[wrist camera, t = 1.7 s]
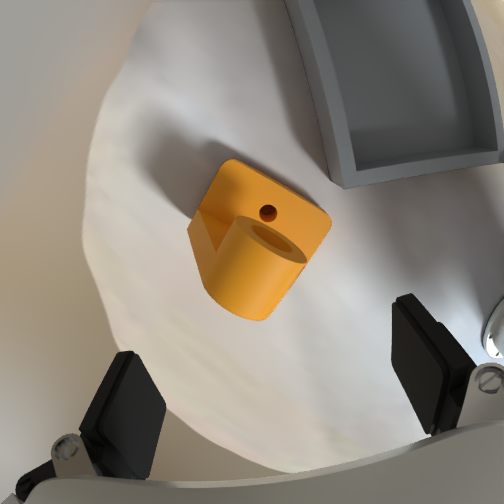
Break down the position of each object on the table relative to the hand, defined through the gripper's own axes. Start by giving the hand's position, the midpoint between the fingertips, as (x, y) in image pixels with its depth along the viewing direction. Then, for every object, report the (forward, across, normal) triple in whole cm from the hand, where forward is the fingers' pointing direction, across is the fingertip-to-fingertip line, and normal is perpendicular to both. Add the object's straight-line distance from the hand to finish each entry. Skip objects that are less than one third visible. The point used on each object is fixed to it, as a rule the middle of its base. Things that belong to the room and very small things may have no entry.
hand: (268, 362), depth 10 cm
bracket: (+20, 0, 0) cm, 20 cm away
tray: (+20, -16, -12) cm, 28 cm away
